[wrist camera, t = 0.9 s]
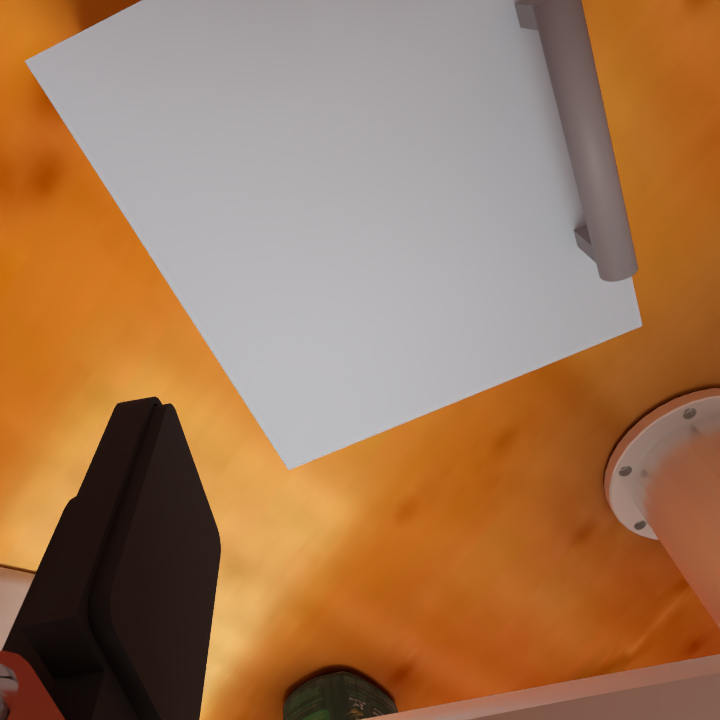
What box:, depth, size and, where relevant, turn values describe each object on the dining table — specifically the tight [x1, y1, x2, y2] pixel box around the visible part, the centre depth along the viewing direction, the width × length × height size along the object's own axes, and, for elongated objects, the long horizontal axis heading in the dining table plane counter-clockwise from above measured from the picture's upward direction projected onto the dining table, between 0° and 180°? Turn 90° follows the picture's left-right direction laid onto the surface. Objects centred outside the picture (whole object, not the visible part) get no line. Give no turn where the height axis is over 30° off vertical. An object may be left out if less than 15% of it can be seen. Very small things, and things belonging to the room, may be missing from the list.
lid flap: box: [25, 0, 642, 470], centre depth 24 cm, size 20×18×4 cm
